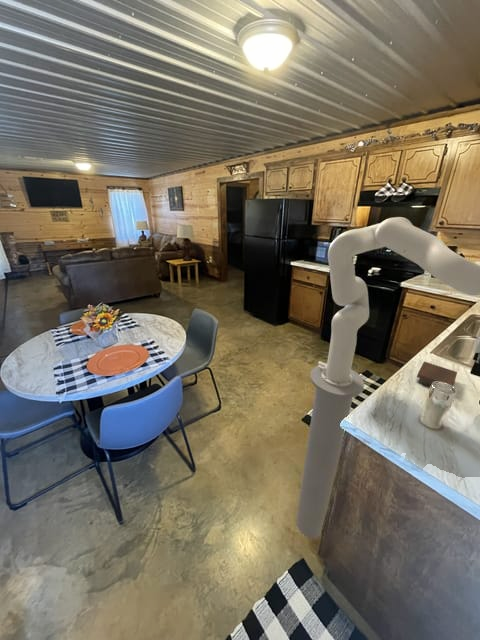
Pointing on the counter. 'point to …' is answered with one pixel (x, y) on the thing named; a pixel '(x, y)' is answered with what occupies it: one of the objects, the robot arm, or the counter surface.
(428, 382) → the lidded box
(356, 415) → the counter surface
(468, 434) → the counter surface
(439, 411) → the beer glass
